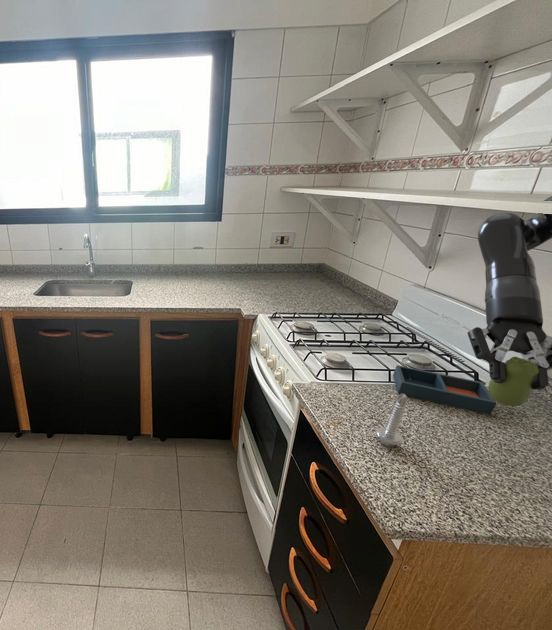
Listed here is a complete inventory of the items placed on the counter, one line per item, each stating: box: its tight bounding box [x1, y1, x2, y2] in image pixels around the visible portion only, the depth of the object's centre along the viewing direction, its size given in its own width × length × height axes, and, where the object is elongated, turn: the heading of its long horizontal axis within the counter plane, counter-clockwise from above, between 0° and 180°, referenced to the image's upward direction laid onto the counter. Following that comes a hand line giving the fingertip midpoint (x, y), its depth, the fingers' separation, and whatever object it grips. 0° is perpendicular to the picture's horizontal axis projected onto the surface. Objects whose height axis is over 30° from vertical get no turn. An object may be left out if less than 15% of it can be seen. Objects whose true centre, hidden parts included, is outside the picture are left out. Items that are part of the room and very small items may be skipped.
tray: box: [392, 364, 498, 416], centre depth 90 cm, size 18×10×4 cm, turn 62°
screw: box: [374, 394, 408, 448], centre depth 73 cm, size 13×5×5 cm
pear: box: [488, 356, 539, 407], centre depth 66 cm, size 6×5×10 cm
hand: (518, 385), depth 64 cm, fingers closed on pear, 5 cm apart
